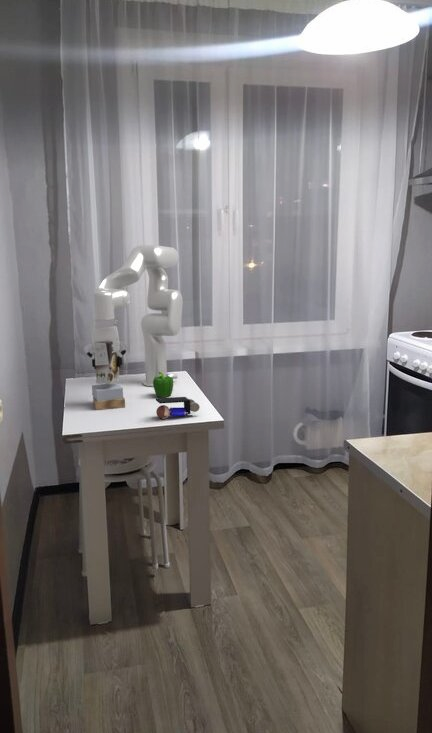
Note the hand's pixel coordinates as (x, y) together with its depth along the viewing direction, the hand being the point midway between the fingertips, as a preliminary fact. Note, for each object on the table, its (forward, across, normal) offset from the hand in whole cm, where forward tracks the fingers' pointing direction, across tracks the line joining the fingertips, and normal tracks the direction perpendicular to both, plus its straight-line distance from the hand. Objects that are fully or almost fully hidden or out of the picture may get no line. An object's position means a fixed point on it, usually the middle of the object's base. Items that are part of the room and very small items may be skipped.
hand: (107, 367), depth 225 cm
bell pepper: (+15, -23, -6) cm, 28 cm away
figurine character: (+15, -22, +24) cm, 36 cm away
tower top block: (+11, +1, 0) cm, 11 cm away
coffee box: (+6, 0, 0) cm, 6 cm away
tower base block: (+16, 0, +1) cm, 16 cm away
